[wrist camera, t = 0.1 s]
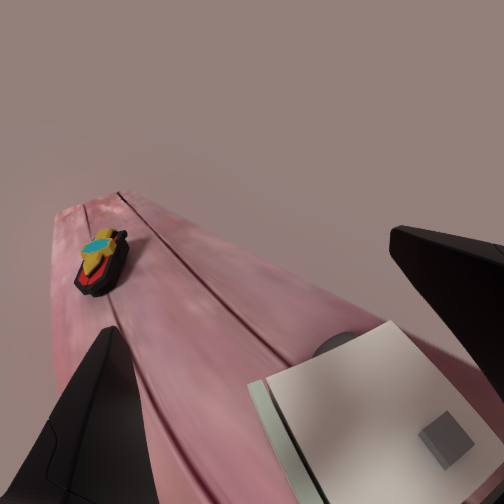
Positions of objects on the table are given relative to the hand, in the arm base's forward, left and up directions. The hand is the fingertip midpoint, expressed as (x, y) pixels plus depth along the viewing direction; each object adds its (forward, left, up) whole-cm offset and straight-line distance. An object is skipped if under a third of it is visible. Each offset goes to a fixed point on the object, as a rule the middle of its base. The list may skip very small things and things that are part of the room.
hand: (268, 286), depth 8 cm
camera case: (-2, -5, -17) cm, 17 cm away
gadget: (+35, +16, -17) cm, 42 cm away
